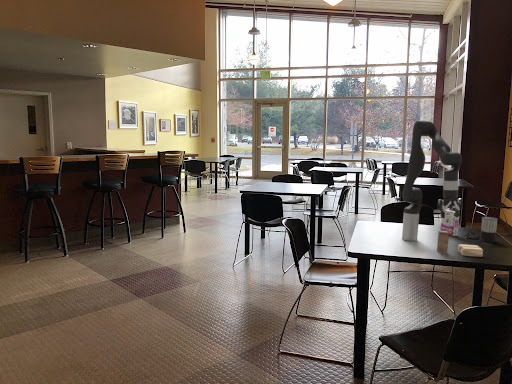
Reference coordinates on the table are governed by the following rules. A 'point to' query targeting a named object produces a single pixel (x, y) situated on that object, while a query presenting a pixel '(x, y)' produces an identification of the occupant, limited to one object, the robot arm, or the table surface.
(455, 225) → the candy bar box
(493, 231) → the milk frother
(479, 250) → the pedestal
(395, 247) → the table surface
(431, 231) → the table surface
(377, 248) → the table surface
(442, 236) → the walnut block
